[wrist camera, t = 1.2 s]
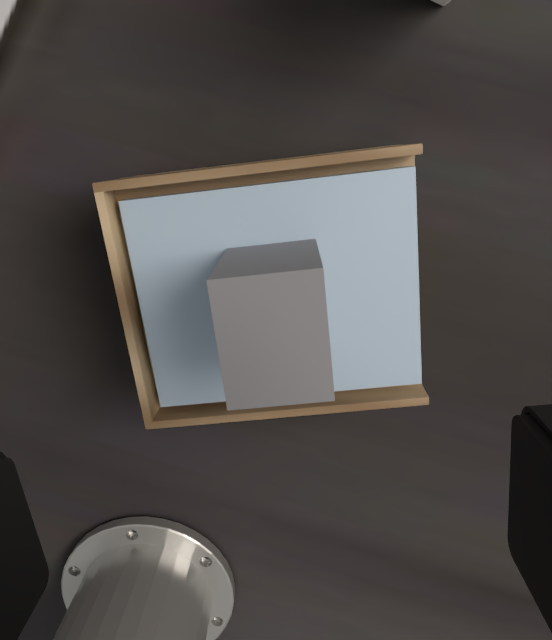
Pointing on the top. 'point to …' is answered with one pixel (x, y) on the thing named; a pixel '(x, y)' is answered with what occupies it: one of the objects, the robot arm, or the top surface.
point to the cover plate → (279, 214)
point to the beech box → (222, 178)
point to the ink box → (441, 2)
